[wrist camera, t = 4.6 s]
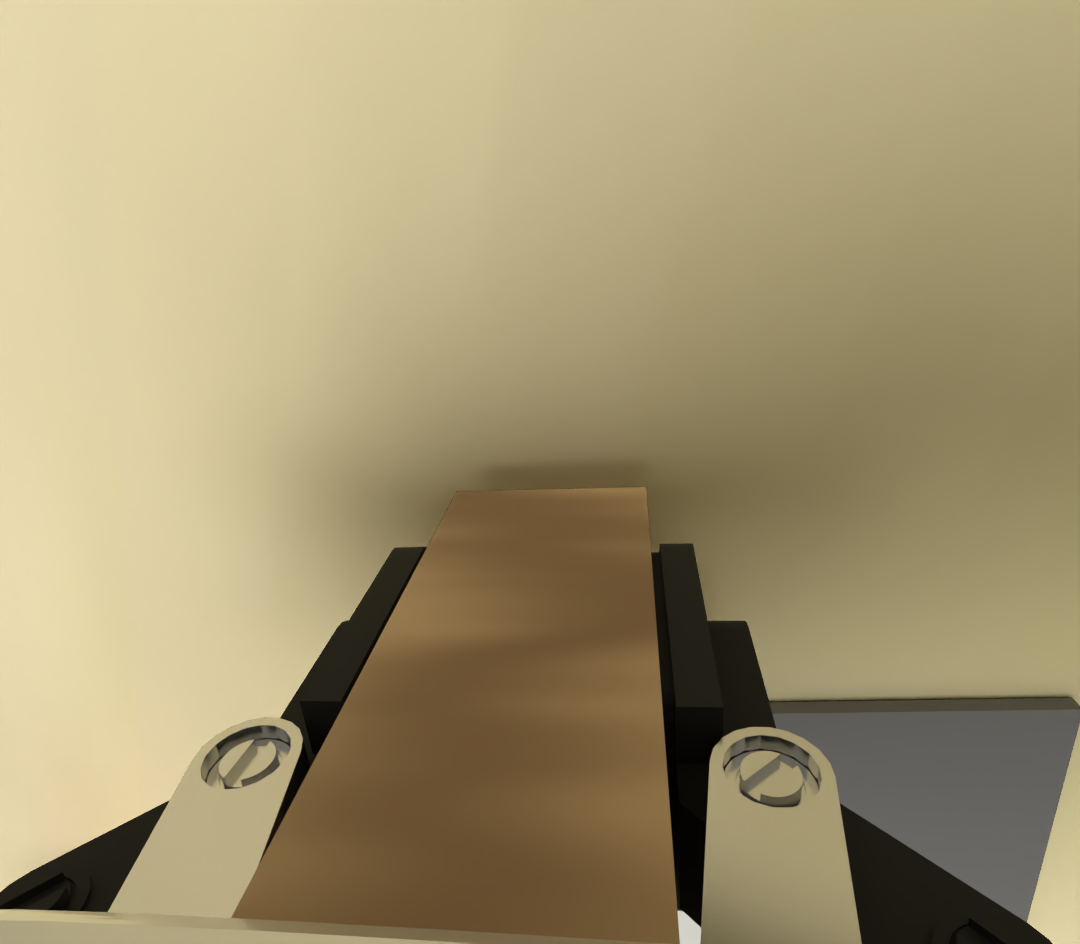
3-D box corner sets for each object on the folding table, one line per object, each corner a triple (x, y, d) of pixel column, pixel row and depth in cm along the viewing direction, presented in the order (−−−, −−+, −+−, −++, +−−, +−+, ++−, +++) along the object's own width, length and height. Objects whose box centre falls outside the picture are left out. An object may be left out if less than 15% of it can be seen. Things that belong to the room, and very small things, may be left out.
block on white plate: (717, 485, 13) (895, 1074, 4) (707, 925, 17) (787, 1639, 9) (392, 492, 13) (17, 1005, 5) (462, 912, 18) (321, 1554, 9)
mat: (1071, 697, 17) (1082, 709, 16) (968, 1101, 23) (974, 1117, 22) (725, 703, 17) (728, 714, 17) (713, 1093, 23) (715, 1108, 23)
